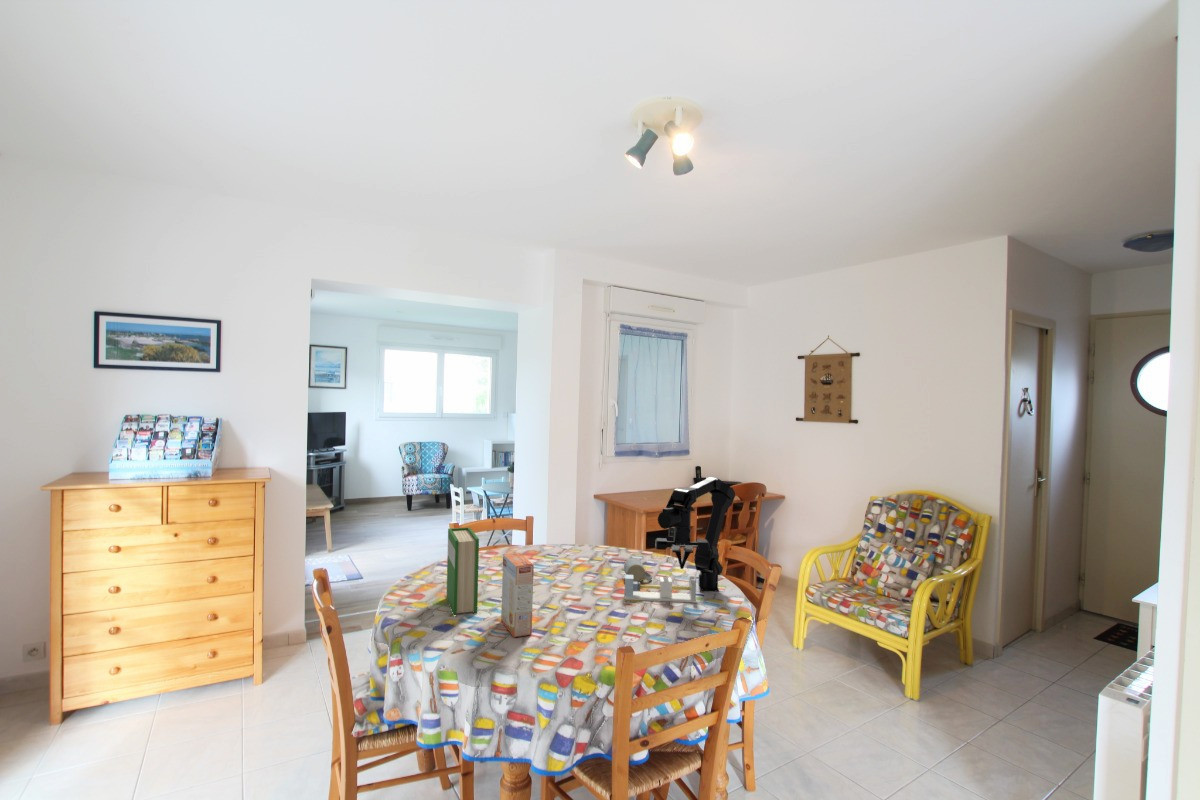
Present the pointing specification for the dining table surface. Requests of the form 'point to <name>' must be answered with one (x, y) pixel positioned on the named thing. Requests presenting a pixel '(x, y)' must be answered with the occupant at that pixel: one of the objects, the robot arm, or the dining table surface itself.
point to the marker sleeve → (665, 587)
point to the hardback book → (462, 570)
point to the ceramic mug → (636, 570)
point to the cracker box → (517, 594)
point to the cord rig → (655, 596)
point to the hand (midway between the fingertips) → (681, 568)
